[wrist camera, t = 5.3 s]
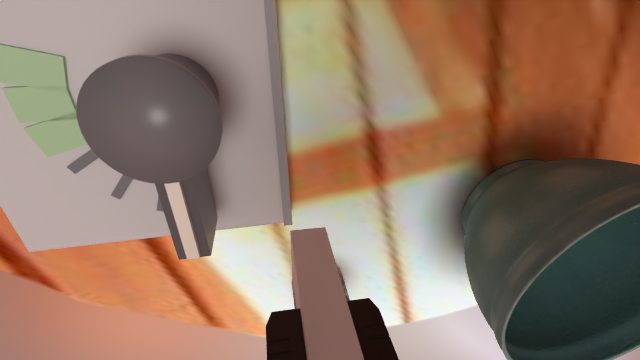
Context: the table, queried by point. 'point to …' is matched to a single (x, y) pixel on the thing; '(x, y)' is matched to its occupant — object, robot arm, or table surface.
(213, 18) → the tuner board
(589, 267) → the flower pot
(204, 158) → the tuner knob
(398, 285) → the table surface
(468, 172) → the table surface
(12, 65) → the green curved panel
